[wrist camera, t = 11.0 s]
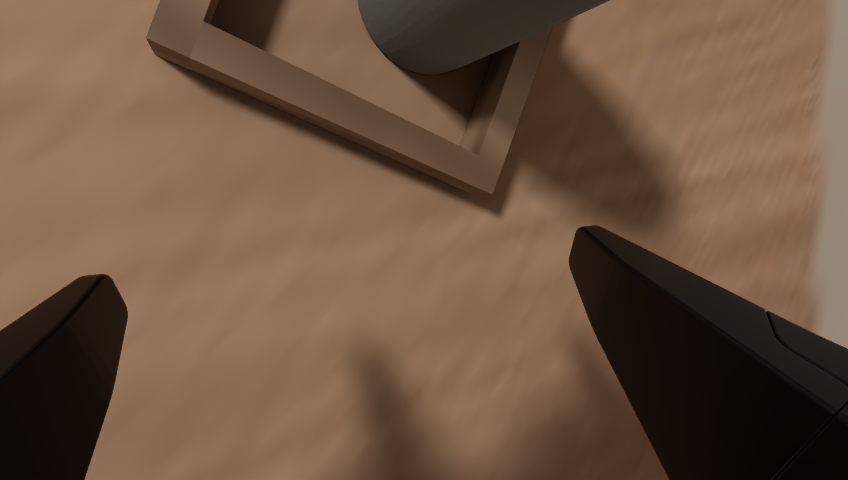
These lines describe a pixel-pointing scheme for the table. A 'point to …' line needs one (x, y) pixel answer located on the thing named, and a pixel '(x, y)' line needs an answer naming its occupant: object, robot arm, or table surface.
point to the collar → (349, 114)
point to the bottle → (458, 28)
